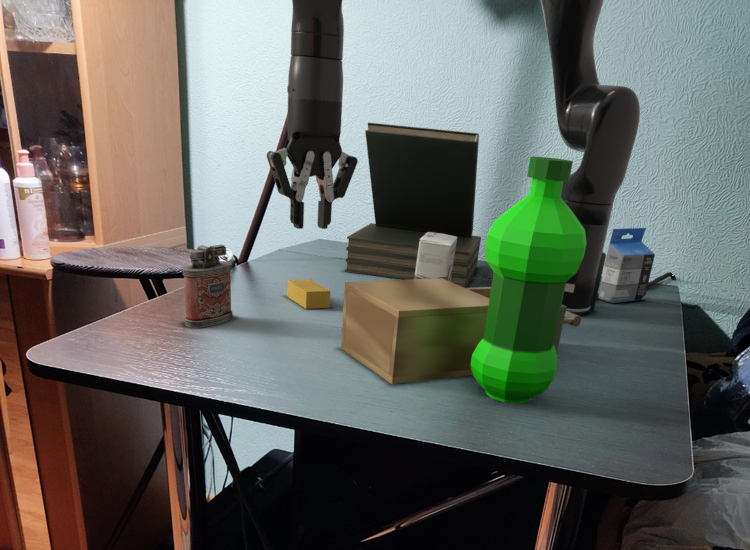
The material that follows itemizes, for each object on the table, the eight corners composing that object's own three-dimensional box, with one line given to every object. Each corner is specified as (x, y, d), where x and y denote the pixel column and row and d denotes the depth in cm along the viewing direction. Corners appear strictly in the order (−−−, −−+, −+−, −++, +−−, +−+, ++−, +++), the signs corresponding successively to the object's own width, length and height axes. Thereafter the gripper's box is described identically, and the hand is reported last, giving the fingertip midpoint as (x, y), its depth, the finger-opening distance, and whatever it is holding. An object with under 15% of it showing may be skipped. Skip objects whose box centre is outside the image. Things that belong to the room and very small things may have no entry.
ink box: (441, 326, 107) (451, 243, 101) (408, 322, 108) (416, 239, 102) (447, 312, 114) (458, 234, 109) (416, 308, 115) (425, 230, 109)
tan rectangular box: (434, 340, 100) (442, 278, 96) (492, 373, 90) (504, 304, 86) (340, 348, 94) (344, 281, 90) (391, 384, 84) (399, 310, 80)
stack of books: (476, 268, 148) (496, 132, 136) (465, 287, 131) (487, 134, 119) (368, 254, 152) (378, 120, 139) (344, 271, 135) (353, 121, 123)
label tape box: (612, 304, 129) (630, 232, 123) (595, 298, 132) (611, 228, 126) (644, 300, 134) (663, 231, 128) (627, 295, 137) (644, 227, 131)
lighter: (197, 329, 96) (194, 251, 91) (179, 323, 98) (175, 247, 93) (238, 318, 102) (237, 245, 97) (220, 313, 104) (218, 240, 99)
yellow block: (310, 295, 117) (310, 279, 116) (329, 307, 111) (330, 290, 110) (287, 296, 115) (287, 280, 114) (305, 309, 110) (306, 291, 108)
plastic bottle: (571, 403, 83) (625, 166, 71) (506, 417, 78) (553, 163, 65) (510, 375, 90) (550, 155, 78) (446, 387, 84) (478, 151, 72)
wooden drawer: (530, 328, 107) (539, 281, 104) (588, 354, 98) (600, 304, 94) (421, 337, 98) (426, 286, 95) (473, 366, 89) (481, 311, 86)
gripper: (277, 93, 93) (275, 232, 102) (372, 102, 100) (363, 232, 108) (257, 91, 99) (257, 223, 108) (348, 99, 105) (341, 223, 114)
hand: (310, 227), depth 108 cm, fingers open, 3 cm apart
